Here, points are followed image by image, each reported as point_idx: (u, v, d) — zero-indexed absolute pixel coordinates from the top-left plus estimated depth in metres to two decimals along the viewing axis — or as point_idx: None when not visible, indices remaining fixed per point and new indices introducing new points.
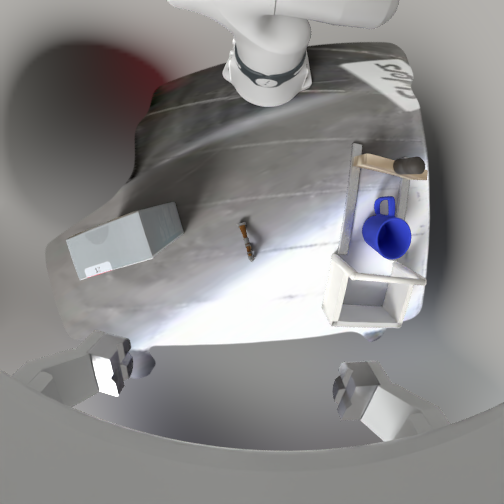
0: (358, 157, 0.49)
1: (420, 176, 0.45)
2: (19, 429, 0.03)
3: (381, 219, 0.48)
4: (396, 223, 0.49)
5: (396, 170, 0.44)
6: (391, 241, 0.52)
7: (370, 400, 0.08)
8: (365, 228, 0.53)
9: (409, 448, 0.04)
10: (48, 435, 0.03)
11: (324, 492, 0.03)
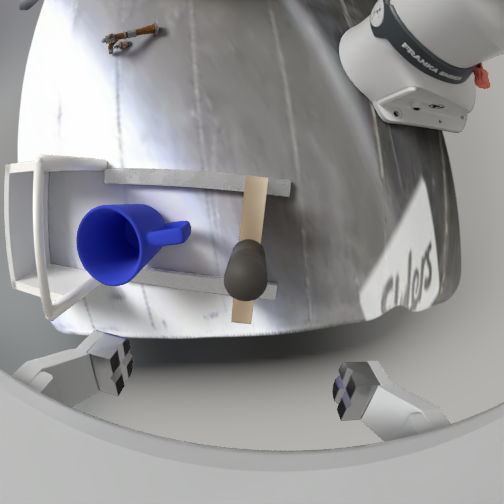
0: None
1: (235, 307, 0.27)
2: (19, 429, 0.03)
3: (143, 220, 0.26)
4: None
5: (238, 244, 0.24)
6: (120, 256, 0.30)
7: (370, 400, 0.08)
8: (138, 204, 0.30)
9: (409, 448, 0.04)
10: (48, 435, 0.03)
11: (324, 492, 0.03)
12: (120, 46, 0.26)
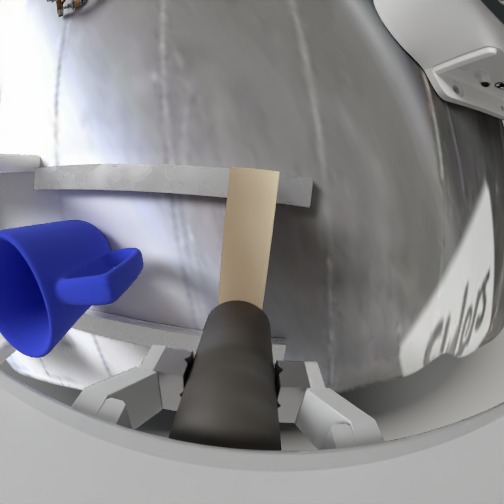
0: None
1: None
2: (19, 429, 0.03)
3: (56, 255, 0.13)
4: None
5: (215, 315, 0.11)
6: None
7: (302, 403, 0.08)
8: (68, 222, 0.17)
9: (409, 448, 0.04)
10: (48, 435, 0.03)
11: (324, 492, 0.03)
12: (72, 5, 0.13)
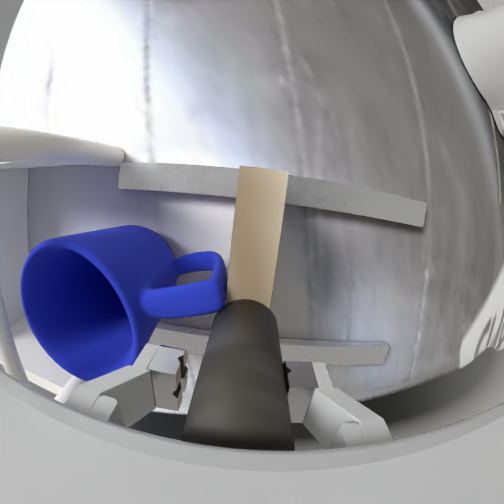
0: None
1: None
2: (19, 429, 0.03)
3: (132, 263, 0.13)
4: None
5: (223, 313, 0.11)
6: (105, 316, 0.17)
7: (310, 404, 0.08)
8: (126, 227, 0.17)
9: (409, 448, 0.04)
10: (48, 435, 0.03)
11: (324, 492, 0.03)
12: None
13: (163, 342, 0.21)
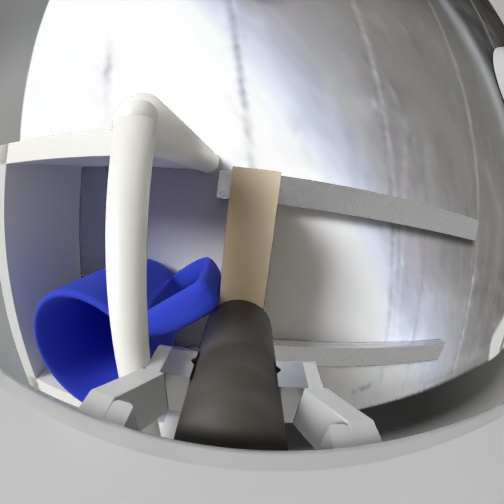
0: None
1: None
2: (19, 429, 0.03)
3: None
4: None
5: (216, 314, 0.11)
6: None
7: (299, 404, 0.08)
8: None
9: (409, 448, 0.04)
10: (48, 435, 0.03)
11: (324, 492, 0.03)
12: None
13: None
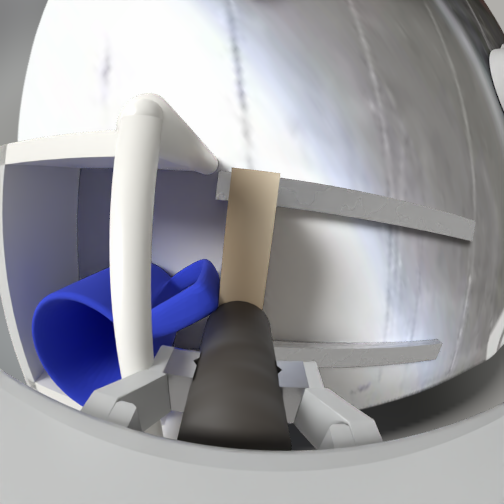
0: None
1: None
2: (19, 429, 0.03)
3: None
4: None
5: (216, 315, 0.11)
6: None
7: (300, 403, 0.08)
8: None
9: (409, 448, 0.04)
10: (48, 435, 0.03)
11: (324, 492, 0.03)
12: None
13: None
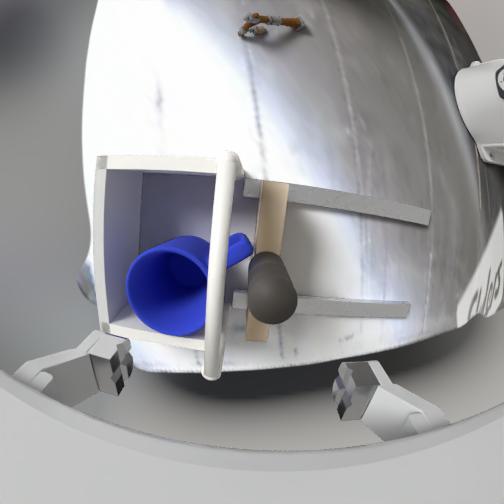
0: None
1: (251, 324, 0.24)
2: (19, 429, 0.03)
3: (196, 250, 0.23)
4: None
5: (256, 257, 0.22)
6: (180, 300, 0.28)
7: (370, 400, 0.08)
8: None
9: (409, 448, 0.04)
10: (48, 435, 0.03)
11: (324, 492, 0.03)
12: (255, 31, 0.24)
13: None
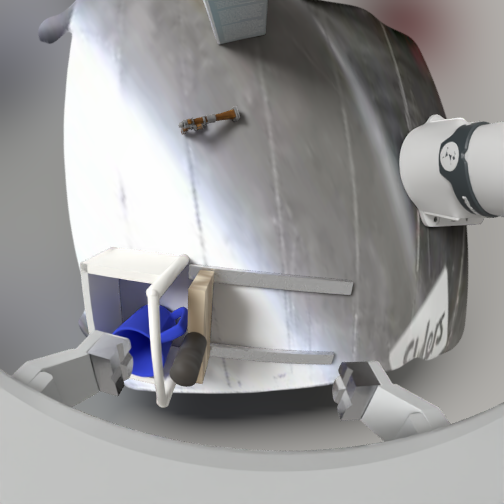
0: (208, 277, 0.35)
1: None
2: (19, 429, 0.03)
3: None
4: None
5: (186, 337, 0.31)
6: (149, 349, 0.38)
7: (371, 400, 0.08)
8: (143, 308, 0.38)
9: (409, 448, 0.04)
10: (48, 435, 0.03)
11: (324, 492, 0.03)
12: (195, 128, 0.33)
13: (212, 352, 0.41)
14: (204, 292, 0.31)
